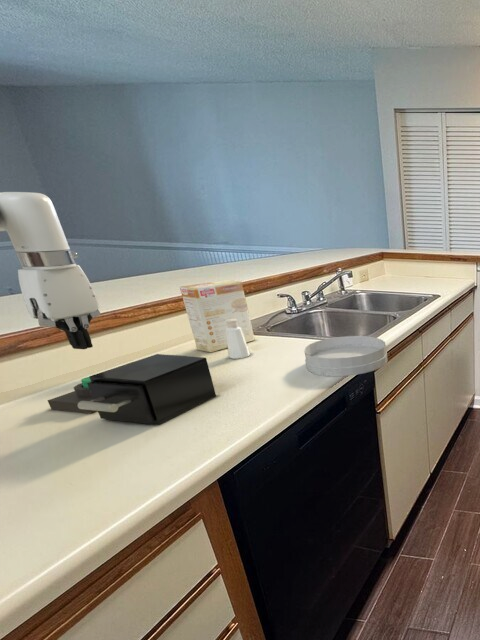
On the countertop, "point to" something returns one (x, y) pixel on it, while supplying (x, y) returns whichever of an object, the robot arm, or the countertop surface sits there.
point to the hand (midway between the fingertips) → (83, 347)
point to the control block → (72, 400)
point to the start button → (85, 382)
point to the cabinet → (166, 383)
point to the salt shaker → (236, 340)
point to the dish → (345, 355)
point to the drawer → (119, 401)
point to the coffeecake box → (216, 312)
